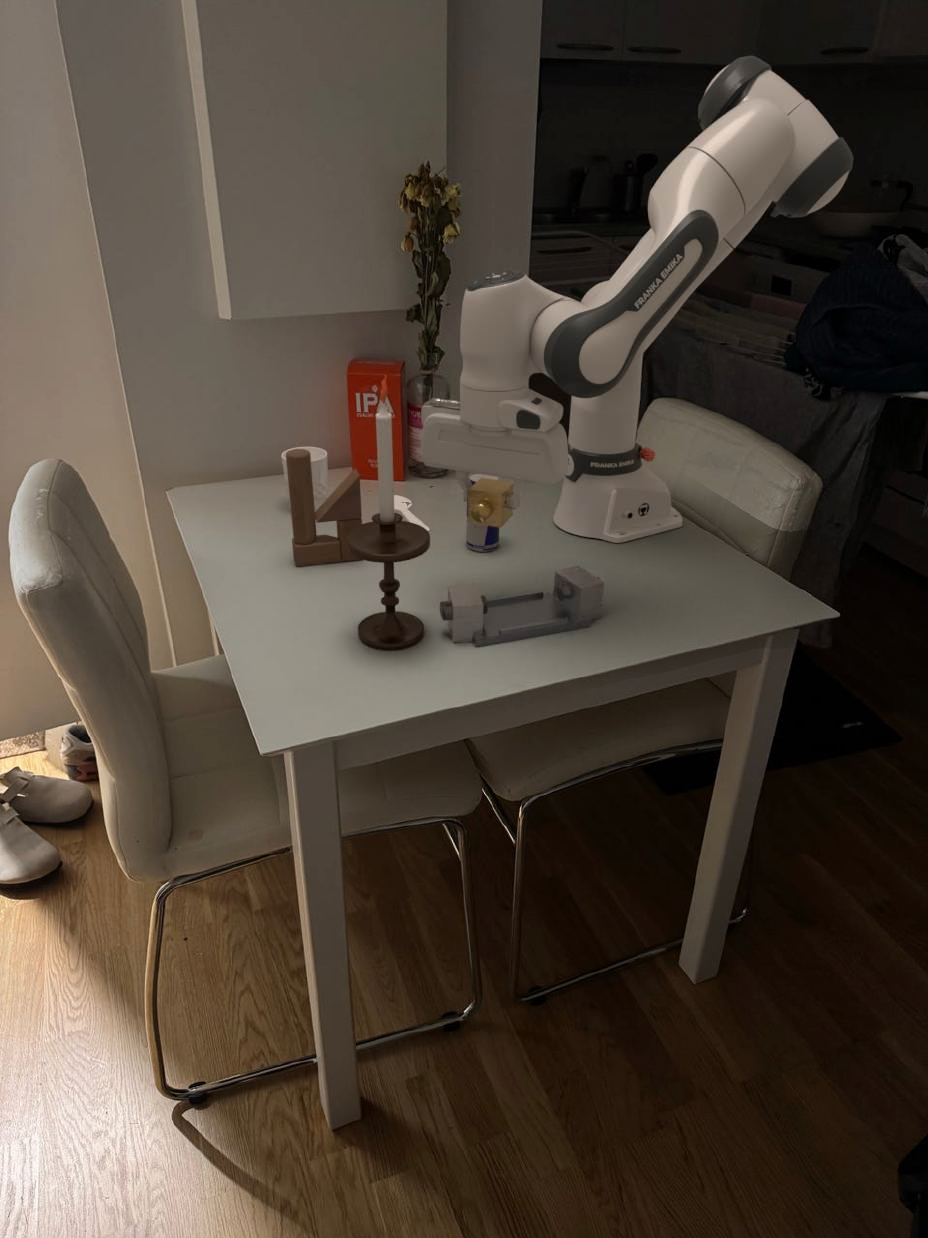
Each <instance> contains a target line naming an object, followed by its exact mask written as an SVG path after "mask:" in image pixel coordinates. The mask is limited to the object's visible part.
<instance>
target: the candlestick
mask: <svg viewBox="0 0 928 1238" xmlns="http://www.w3.org/2000/svg"><path fill="white" fill-rule="evenodd" d="M380 383H381V388H382V389H380V396H379V399H380V401H381V402H380V408H379V411H378V412H377V413H375V428H376V449H377V452H376V453H377V455H376V456H377V476H378V478H377V479H378V480H377V481H378V501H379V502H378V504H379V507H378V508H379V513H376V514H374V515H372V516H371V521H369V522H363V523H362V524H361V525H359V526H356V527H354V528H353V529H351V530H350V531H349V532H348V533H347V535H346V539H345V540H346V548H347V551H348V552H349V553H350V554H352V555H353V556H355V557H357V558H359V559H362V560H363V561H365V562H373V563H380V564H381V563H382V564H383V575H384V577H383V578H382V579H381V580H380V581H379V582H378V587H379V589H380V592H382V593H383V596H382V597H381V599H380V603H381V605H383V606H384V608H385V611H381V612H377V613H373V614H371V615H369V616H367V617H365V618H363V619H362V620H361V621H360V622H359V623H358V625H357V636H358V639H359V641H360V642H361V643H362V644H363V645H365V647H366V646H367V647H369V648H372V649H374V650H379V651H386V652H387V651H388V652H389V651H401V650H405V649H408V648H411V647H413V646H416V644H418V643H420V642H421V641H422V640H423V638H424V635H425V624H424V622H423V621H422V620H421V619H420V618H419V617H418V616H416V615H414V614H411V613H408V612H404V611H396V606H397V605H399V603H400V598H399V597H398V596H397V595H396V593H397V592H398V591H399V589H400V587H401V582H400V580H399V579H397V578H395V563H400V562H401V563H402V562H404V561H405V562H406V561H410V560H412V559H413V560H414V559H416V558H418V557H420V556H422V555H424V554H425V553H427V552H428V550H429V549H430V547H431V535H430V531H429V532H428V531H427V530H426V529H425V528H424V527H422V526H420V525H417V524H415V523H411V522H409V521H408V520H407V521H406V520H403V519H404V516H403V515H401V514H400V513H398V512H395V510H394V495H395V490H394V488H395V487H394V460H393V459H394V458H393V453H394V452H393V421H392V419H393V418H392V413H391V412H389V411H388V408H387V405H386V404H387V403H386V399H387V395H388V389H389V388H388V385H387V384H388V383H387V375H386V374H385V375H384V378H383V380H382V381H381V382H380ZM362 560H361V561H362Z"/></svg>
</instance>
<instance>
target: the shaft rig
mask: <svg viewBox="0 0 928 1238" xmlns="http://www.w3.org/2000/svg"><path fill="white" fill-rule="evenodd" d="M604 587H605V581H604V580H602V579H601V578H600V577H599V576H595V575H594V574H592V573H590V572H589V571H587V570H586V569H584V568H583V567H581V566H579V565H573V566H570V567H567V568H563V569H560V570H556V571H554V583H553V591H551V592H545V593H544V591H543V590H542V589H541V590H533V591H529V592H528V591H527V592H521V593H517V594H515V593H514V594H510V595H509V594H508V595H504V596H503V595H502V596H498V597H491V598H486V596H485V595H483V594H482V595H481V593H480V590H479V587H478V584H477V583H469V584H468V583H467V584H465V583H464V584H448V585H447V600H444V601H443V600H442V601H440V602H439V613H440V617H441V620H442V621H444V622H446V621H447V623H448V627H449V628H448V629H449V633H450V636H451V640H452V643H453V644H454V643H455V644H459V643H471V642H472V644H473V645H474V646H475V647H476V648H477V647H479V648H480V647H484V646H489V645H490V646H491V645H495V644H500V643H501V644H502V643H507V642H512V641H517V640H523V639H527V638H528V639H529V638H536V637H539V636H540V637H541V636H546V635H550V634H551V635H552V634H557V633H562V632H567V631H575V630H580V629H585V628H586V629H587V628H590V627H592V625H591V624H592V621H593V620H595V619H599V618H601V617H602V606H603V600H604V599H603V598H604V590H605V589H604Z"/></svg>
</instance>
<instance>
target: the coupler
mask: <svg viewBox="0 0 928 1238" xmlns="http://www.w3.org/2000/svg"><path fill="white" fill-rule="evenodd" d="M514 491H515V486H514V481H507V480H501V479H500V480H494V479H488V478H481V479H479V480H478V481H477V482H476V483H475V484H474V485H473V486H472V487H471V488H469V489H468V522H471V523H476V524H482V525H488V526H494V527H499V529H501V528H502V527H503V526H504V525H505V524H506V523H507V522H509V520H510V519H511V517H512V516H513V515H514V509H510V508H506V504H507V502H506V496H507V495H509V493H510V492H512V493H515V492H514Z"/></svg>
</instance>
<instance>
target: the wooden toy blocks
mask: <svg viewBox="0 0 928 1238" xmlns="http://www.w3.org/2000/svg"><path fill="white" fill-rule="evenodd" d="M286 462H287V473H288V483H289V494H290V505H291V509H290V513H291V525H292V535H293V537H292V538H291V545H292V554H293V561H294V564H295V566H296V567H304V566H313V565H314V566H315V565H324V564H332V563H340V562H343V563H344V562H345V563H346V562H352V561H353V562H354V561H362V559H359V558H357V557H355V556H353V555H352V554H350V553H349V552H348V551H347V548H346V540H345V539H346V535H347V533H348V532H349V531H350V530H351V529H353V528H354V527H356V526H359V525H361V524H363V519H362V518H363V517H362V515H363V513H362V496H361V476H360V474H359V472H358V470H357V468H354V469H353V470H352V471H351V472H350V473H349V474H348V475H347V476H346V477H345V478H344V479H343V480H342V482H341V483H340V484H339V485H338V486H337V487H336V488H335V489H334V491H333V492H332V493H331V494H330V495H329V496H327V499H326V501H325V502H324V503H323V504H322V505H321V506H320V507H319V508H318V509H317V511H316V512H315V508H314V495H313V482H312V469H311V457H310V452H309V451H308V450H305V449H293V450H290V451H288V452H287V453H286ZM329 522H336V533H337V536H334V535H328V534H319V535H318V534H317V524H316V523H329Z"/></svg>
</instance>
